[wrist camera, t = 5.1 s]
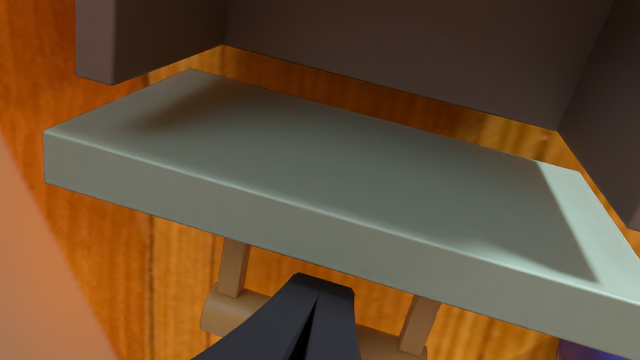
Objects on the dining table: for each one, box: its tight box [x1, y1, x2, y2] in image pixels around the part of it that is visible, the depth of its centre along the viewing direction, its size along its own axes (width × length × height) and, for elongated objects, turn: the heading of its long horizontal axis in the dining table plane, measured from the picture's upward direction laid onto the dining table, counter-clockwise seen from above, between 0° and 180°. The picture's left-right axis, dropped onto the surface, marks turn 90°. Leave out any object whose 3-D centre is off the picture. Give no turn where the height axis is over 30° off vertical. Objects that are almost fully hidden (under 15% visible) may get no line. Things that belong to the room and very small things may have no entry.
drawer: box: [43, 0, 640, 360], centre depth 11 cm, size 17×12×7 cm
